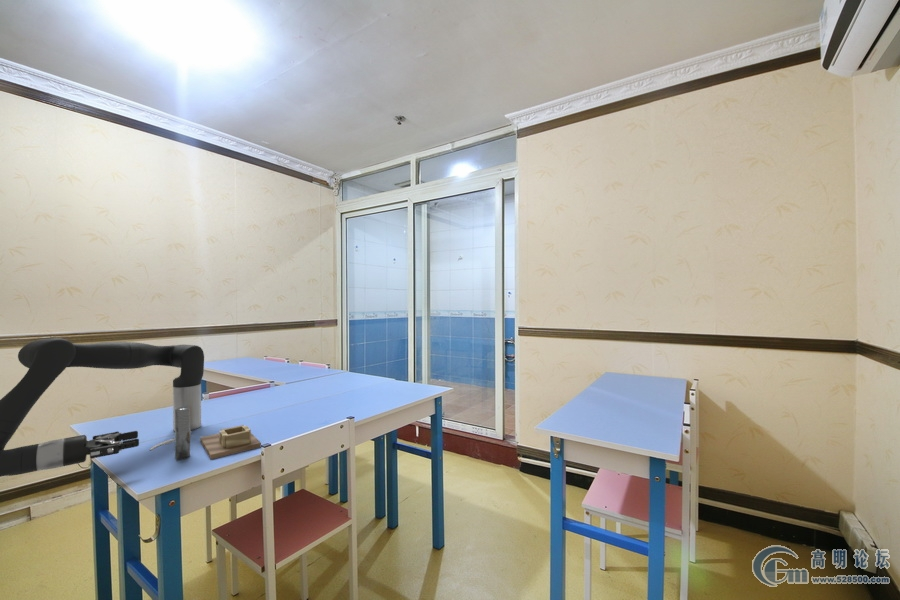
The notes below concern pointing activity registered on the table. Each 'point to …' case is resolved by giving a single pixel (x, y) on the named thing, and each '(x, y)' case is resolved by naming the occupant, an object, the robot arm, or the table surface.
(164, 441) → the pliers
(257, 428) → the table surface
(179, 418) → the steel pin
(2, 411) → the robot arm
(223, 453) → the socket board
